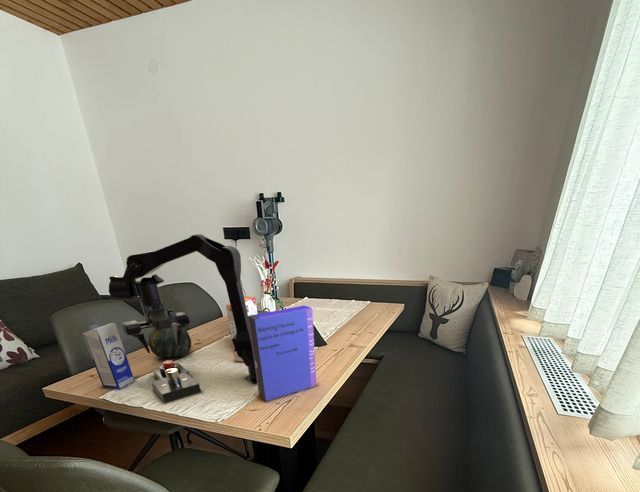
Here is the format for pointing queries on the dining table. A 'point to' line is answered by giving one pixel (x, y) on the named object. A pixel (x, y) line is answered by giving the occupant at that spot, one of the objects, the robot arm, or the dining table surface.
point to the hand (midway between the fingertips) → (164, 349)
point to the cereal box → (283, 351)
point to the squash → (169, 343)
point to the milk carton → (108, 356)
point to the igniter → (168, 364)
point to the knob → (172, 376)
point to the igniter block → (161, 371)
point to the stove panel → (176, 388)
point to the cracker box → (251, 310)
